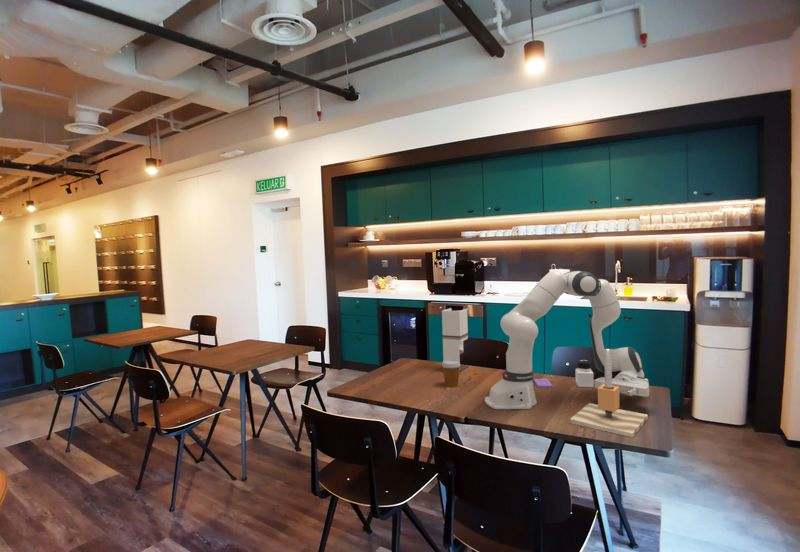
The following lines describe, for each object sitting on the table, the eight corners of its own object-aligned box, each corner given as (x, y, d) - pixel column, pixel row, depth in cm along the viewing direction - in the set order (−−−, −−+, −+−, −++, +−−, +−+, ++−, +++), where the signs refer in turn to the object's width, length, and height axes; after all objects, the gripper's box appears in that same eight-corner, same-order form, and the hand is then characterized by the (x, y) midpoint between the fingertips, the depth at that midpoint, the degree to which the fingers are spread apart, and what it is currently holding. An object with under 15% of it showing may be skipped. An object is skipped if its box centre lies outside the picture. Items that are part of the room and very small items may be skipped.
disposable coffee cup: (462, 387, 213) (461, 364, 212) (443, 388, 213) (442, 364, 213) (459, 382, 222) (459, 359, 222) (441, 382, 223) (440, 360, 222)
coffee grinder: (461, 374, 237) (459, 311, 236) (443, 372, 243) (441, 310, 241) (468, 369, 247) (467, 308, 246) (451, 367, 253) (450, 308, 251)
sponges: (538, 389, 208) (537, 385, 208) (533, 381, 221) (533, 378, 221) (552, 389, 207) (552, 385, 207) (547, 381, 220) (547, 378, 220)
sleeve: (603, 404, 170) (602, 384, 169) (619, 407, 166) (619, 387, 165) (598, 408, 165) (597, 388, 165) (614, 411, 161) (614, 391, 161)
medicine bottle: (594, 387, 206) (593, 362, 206) (578, 387, 208) (578, 362, 207) (590, 383, 213) (590, 359, 213) (575, 382, 215) (575, 359, 214)
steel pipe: (606, 414, 168) (605, 348, 167) (614, 416, 166) (613, 348, 165) (603, 417, 166) (602, 349, 164) (611, 418, 164) (610, 350, 162)
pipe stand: (589, 406, 181) (589, 403, 181) (647, 418, 167) (647, 414, 167) (569, 422, 165) (569, 419, 165) (632, 437, 150) (632, 433, 150)
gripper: (599, 371, 189) (589, 379, 179) (652, 379, 175) (644, 388, 165) (600, 385, 190) (589, 394, 179) (652, 394, 176) (644, 404, 166)
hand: (616, 391), depth 172 cm, fingers open, 8 cm apart
